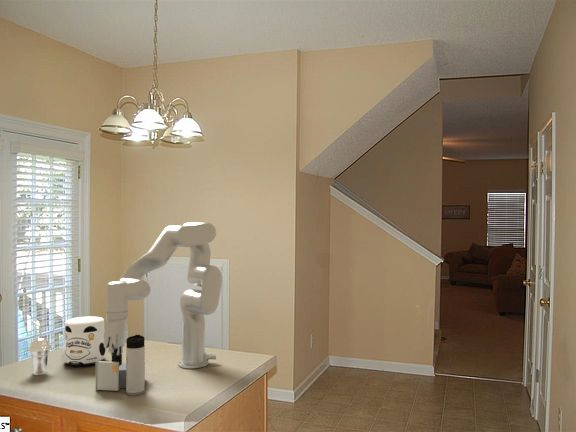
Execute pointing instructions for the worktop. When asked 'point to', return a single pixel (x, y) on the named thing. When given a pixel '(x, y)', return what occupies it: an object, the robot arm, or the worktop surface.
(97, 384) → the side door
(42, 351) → the cup with straw
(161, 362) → the worktop surface
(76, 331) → the milk container
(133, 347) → the travel mug
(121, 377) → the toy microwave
